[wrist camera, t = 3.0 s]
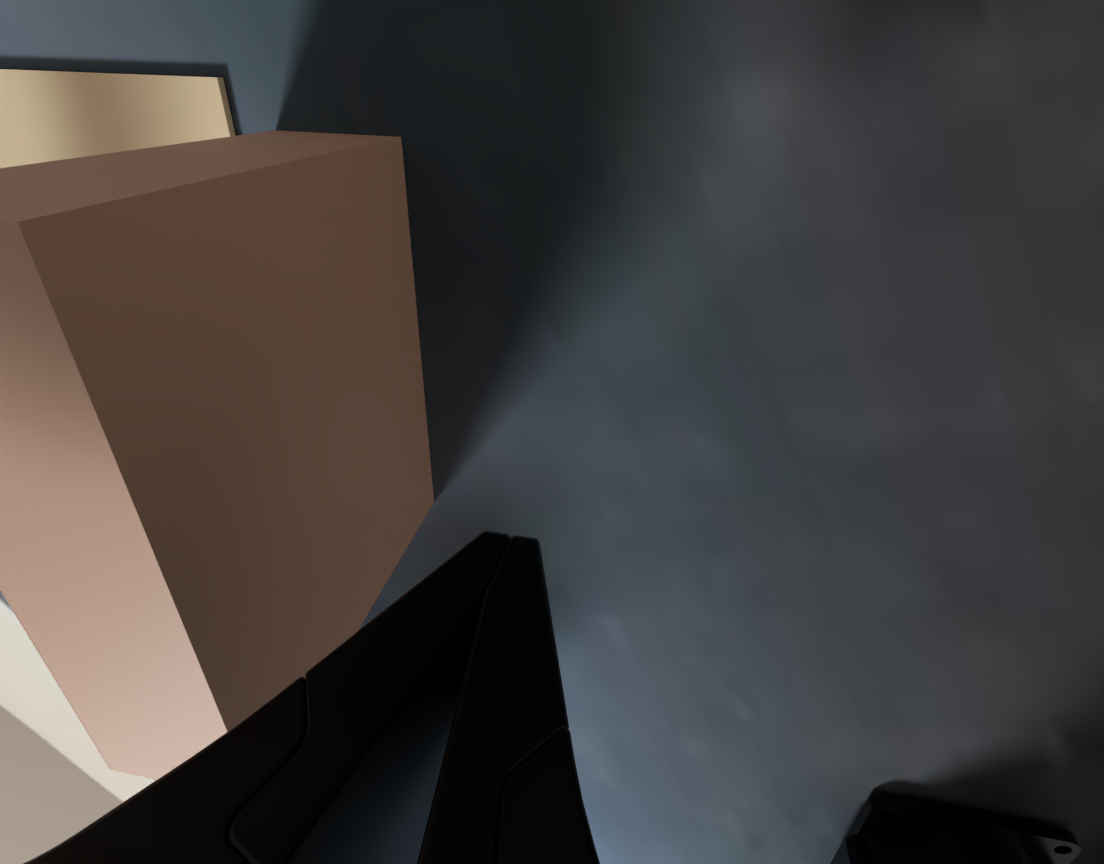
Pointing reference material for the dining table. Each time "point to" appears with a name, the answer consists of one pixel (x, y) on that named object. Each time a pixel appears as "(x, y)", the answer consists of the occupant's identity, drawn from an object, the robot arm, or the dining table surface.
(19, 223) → the block
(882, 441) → the dining table surface
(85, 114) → the tan wooden flat board
